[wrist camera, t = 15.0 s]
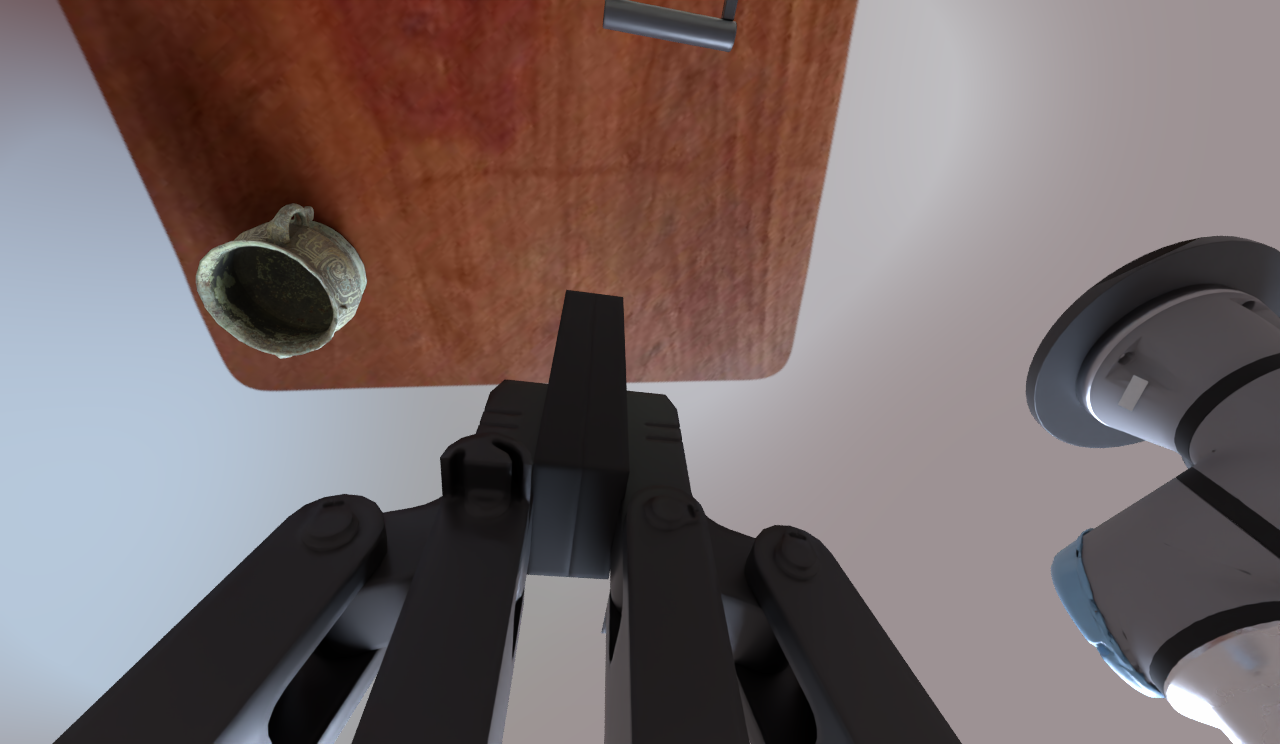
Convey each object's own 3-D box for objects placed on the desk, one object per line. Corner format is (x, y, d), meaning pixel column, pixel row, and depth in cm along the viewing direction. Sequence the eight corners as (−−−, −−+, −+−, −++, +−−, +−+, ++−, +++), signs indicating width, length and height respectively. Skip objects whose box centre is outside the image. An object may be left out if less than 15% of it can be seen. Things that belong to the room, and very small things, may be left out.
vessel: (246, 171, 36) (183, 193, 30) (380, 211, 38) (342, 239, 32) (255, 318, 42) (203, 358, 36) (370, 347, 44) (336, 389, 38)
